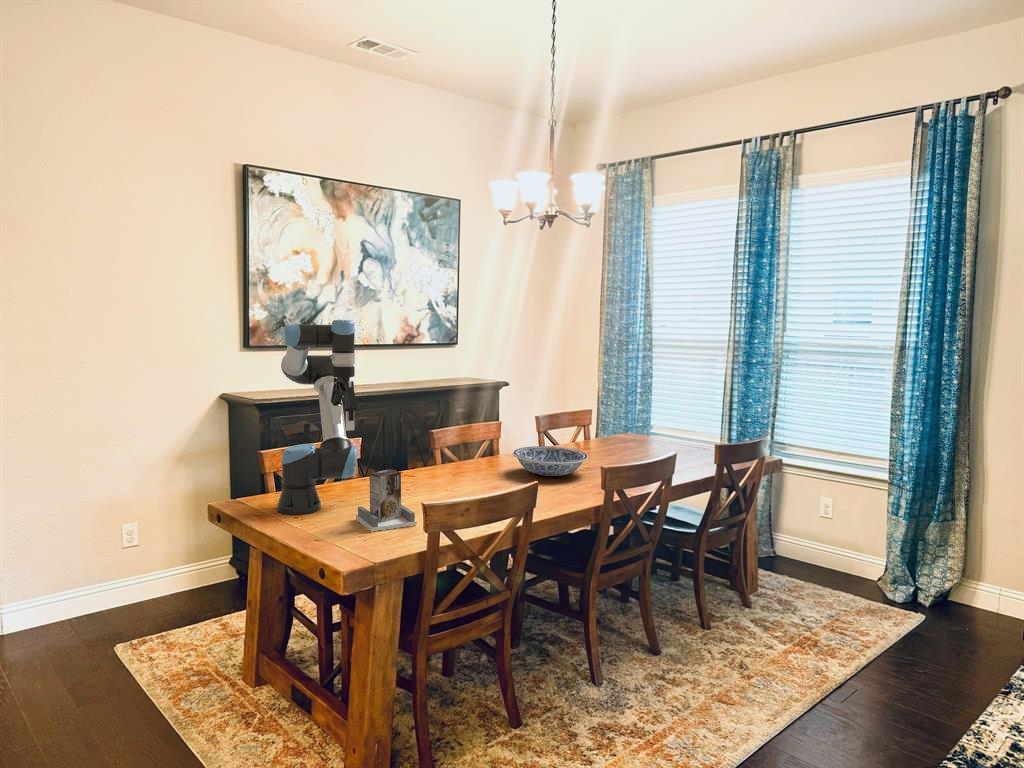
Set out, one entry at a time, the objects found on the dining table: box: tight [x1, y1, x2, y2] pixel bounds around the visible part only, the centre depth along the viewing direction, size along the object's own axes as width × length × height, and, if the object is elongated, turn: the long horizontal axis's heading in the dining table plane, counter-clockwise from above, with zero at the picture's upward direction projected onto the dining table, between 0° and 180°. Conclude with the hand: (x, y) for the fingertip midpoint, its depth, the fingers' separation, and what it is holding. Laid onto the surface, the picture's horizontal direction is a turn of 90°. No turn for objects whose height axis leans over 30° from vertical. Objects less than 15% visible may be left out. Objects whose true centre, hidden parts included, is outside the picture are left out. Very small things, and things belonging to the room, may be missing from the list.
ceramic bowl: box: [512, 445, 589, 477], centre depth 321 cm, size 34×34×10 cm
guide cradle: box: [355, 504, 417, 533], centre depth 243 cm, size 16×16×4 cm
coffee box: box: [368, 468, 402, 522], centre depth 242 cm, size 9×6×16 cm
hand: (343, 427), depth 242 cm, fingers open, 13 cm apart
